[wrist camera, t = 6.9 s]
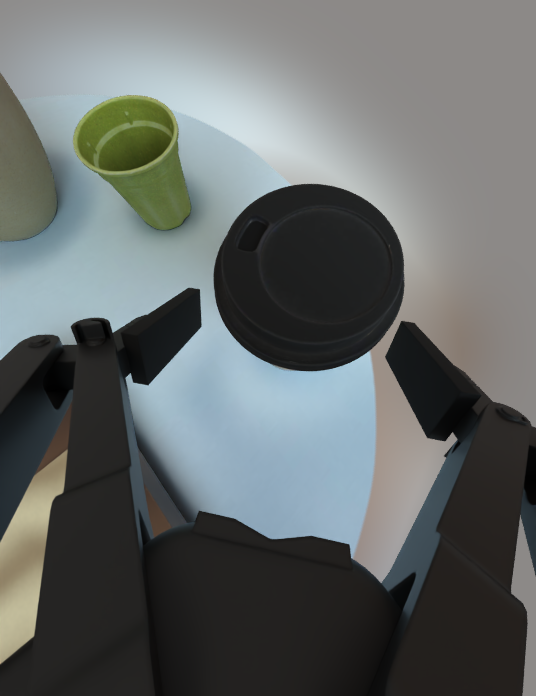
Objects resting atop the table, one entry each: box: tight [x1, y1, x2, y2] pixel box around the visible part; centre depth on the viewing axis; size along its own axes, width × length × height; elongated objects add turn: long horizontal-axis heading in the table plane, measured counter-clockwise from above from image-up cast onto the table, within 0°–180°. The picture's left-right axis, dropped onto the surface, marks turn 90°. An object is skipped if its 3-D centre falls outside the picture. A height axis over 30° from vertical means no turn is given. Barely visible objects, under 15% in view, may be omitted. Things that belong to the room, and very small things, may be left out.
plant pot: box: [73, 95, 191, 230], centre depth 25 cm, size 9×9×9 cm
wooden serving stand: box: [0, 402, 187, 664], centre depth 19 cm, size 24×16×4 cm, turn 40°
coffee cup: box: [214, 184, 404, 371], centre depth 17 cm, size 9×9×15 cm
